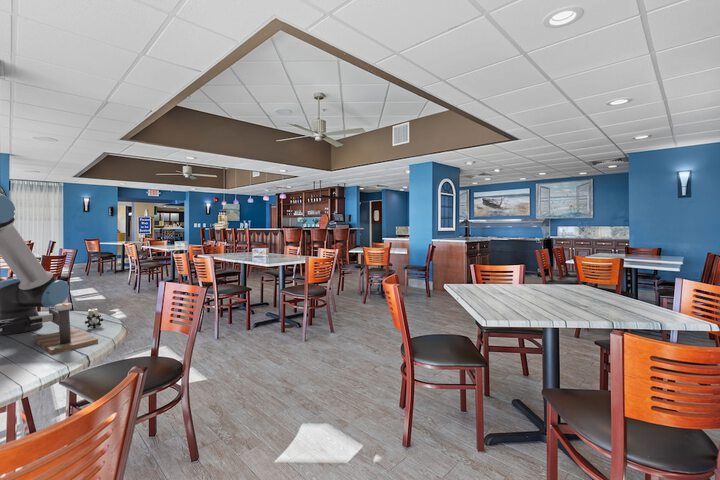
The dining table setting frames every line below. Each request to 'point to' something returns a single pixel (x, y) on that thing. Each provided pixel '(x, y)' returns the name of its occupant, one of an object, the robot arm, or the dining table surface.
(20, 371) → the dining table surface
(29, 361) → the dining table surface
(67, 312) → the dark piece
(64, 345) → the board
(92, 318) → the valve
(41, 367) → the dining table surface
